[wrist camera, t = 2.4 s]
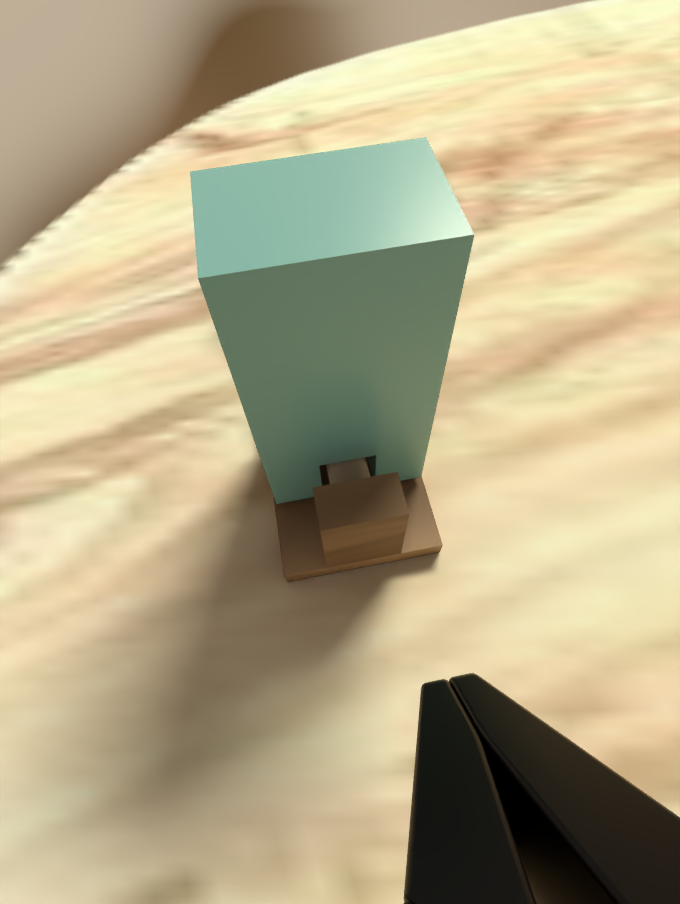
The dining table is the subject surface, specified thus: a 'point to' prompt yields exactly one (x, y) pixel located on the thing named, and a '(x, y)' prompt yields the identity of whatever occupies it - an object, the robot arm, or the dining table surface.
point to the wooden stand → (355, 522)
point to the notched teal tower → (334, 302)
